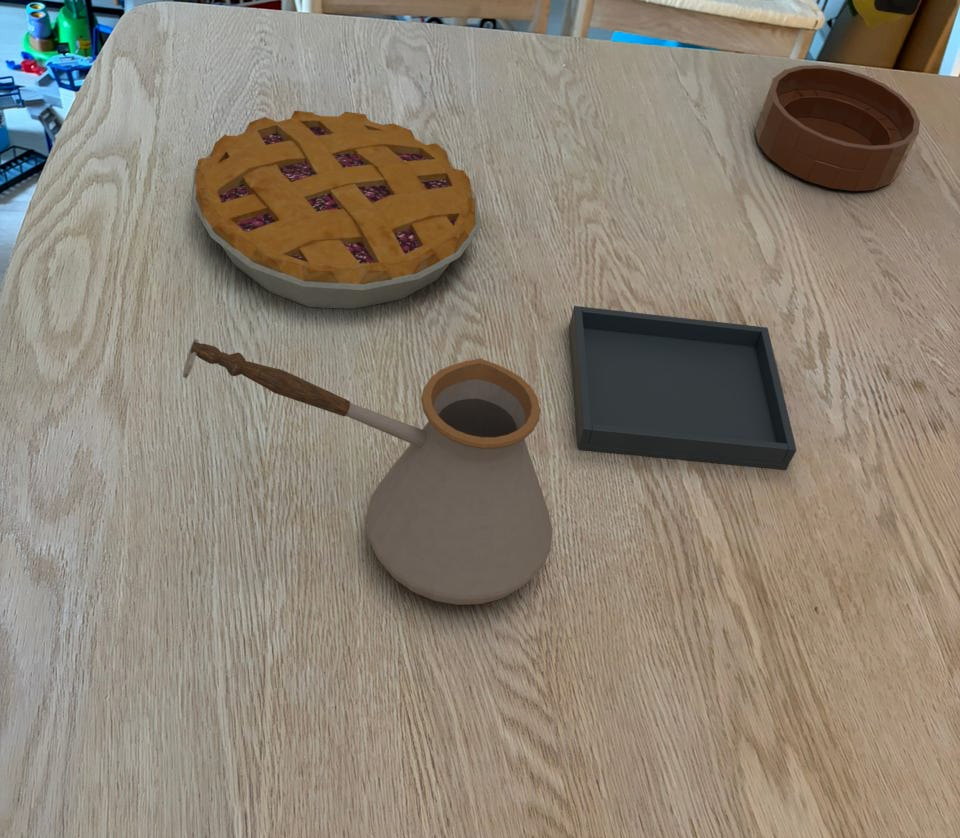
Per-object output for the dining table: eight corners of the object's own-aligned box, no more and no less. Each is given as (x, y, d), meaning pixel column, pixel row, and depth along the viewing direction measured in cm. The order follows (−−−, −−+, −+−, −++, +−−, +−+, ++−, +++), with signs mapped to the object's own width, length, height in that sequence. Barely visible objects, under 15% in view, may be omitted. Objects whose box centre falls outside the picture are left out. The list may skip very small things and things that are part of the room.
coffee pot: (540, 494, 71) (587, 310, 59) (548, 633, 65) (603, 459, 53) (216, 466, 69) (196, 270, 57) (190, 609, 62) (161, 421, 50)
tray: (759, 347, 83) (767, 327, 82) (786, 470, 76) (797, 450, 74) (568, 326, 82) (574, 305, 80) (577, 449, 74) (583, 428, 73)
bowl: (880, 120, 107) (900, 76, 103) (913, 203, 99) (936, 157, 95) (744, 102, 105) (759, 56, 102) (766, 184, 97) (783, 137, 94)
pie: (527, 271, 85) (538, 216, 81) (289, 358, 76) (288, 300, 72) (375, 131, 94) (378, 75, 90) (144, 194, 84) (136, 133, 80)
